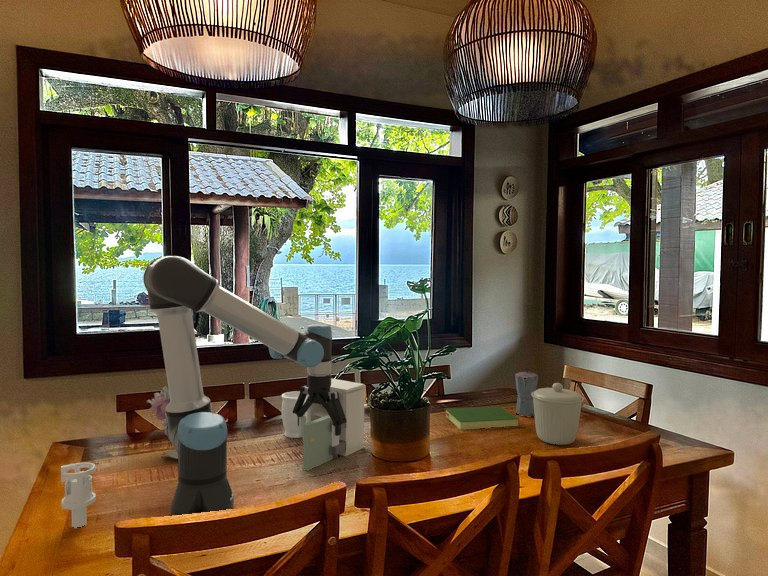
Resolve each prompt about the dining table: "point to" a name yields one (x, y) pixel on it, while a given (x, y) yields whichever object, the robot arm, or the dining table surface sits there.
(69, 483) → the strainer
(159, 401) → the flower
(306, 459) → the door
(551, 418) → the canister
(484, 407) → the hardcover book
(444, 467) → the dining table surface
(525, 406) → the moka pot
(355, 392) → the cabinet
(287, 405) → the jar
